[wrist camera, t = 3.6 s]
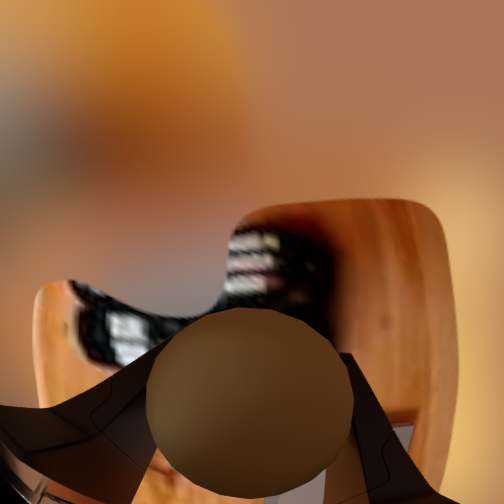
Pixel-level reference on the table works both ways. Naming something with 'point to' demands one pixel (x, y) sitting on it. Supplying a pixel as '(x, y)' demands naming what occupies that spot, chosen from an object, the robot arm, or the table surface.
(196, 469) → the cork
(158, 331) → the table surface
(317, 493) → the coaster
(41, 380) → the table surface
